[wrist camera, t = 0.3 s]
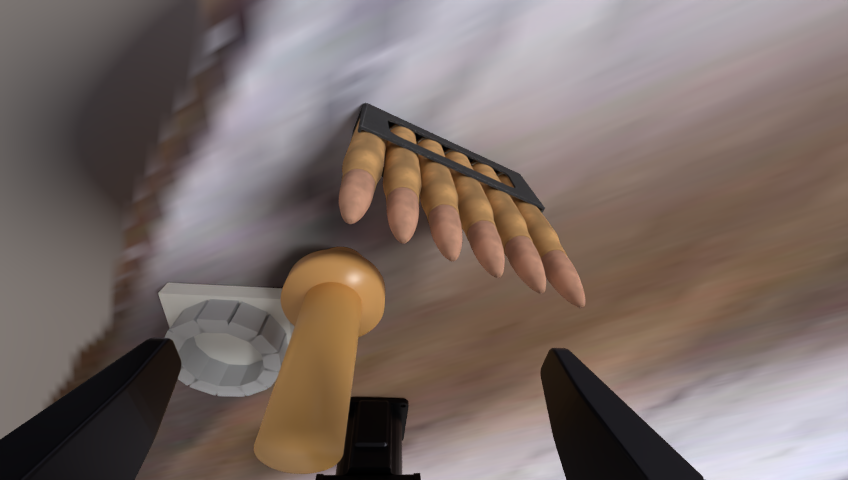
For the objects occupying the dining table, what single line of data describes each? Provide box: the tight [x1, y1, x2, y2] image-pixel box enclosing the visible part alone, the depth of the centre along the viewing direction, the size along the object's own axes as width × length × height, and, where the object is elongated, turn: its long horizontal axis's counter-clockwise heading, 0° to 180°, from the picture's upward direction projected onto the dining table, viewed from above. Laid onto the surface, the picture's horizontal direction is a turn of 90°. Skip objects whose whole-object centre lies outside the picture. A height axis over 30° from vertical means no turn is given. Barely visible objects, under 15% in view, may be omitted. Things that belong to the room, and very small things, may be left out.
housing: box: [158, 283, 295, 397], centre depth 27 cm, size 9×9×3 cm
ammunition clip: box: [339, 103, 585, 308], centre depth 17 cm, size 11×2×12 cm, turn 65°
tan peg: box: [254, 247, 385, 474], centre depth 20 cm, size 6×6×13 cm
